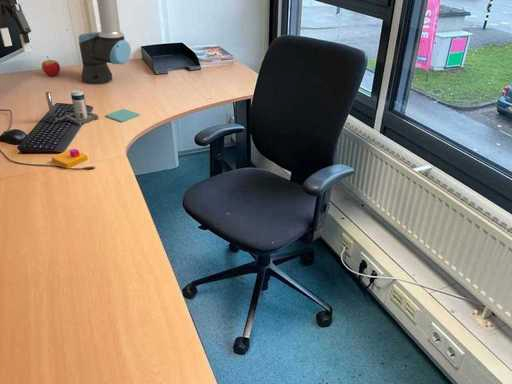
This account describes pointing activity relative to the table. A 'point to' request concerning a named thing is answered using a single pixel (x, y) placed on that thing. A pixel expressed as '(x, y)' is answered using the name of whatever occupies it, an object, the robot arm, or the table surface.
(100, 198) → the table surface
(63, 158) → the orange flat block
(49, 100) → the square frame with rod
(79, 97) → the beer can
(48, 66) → the apple
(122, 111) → the coaster
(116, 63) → the robot arm
